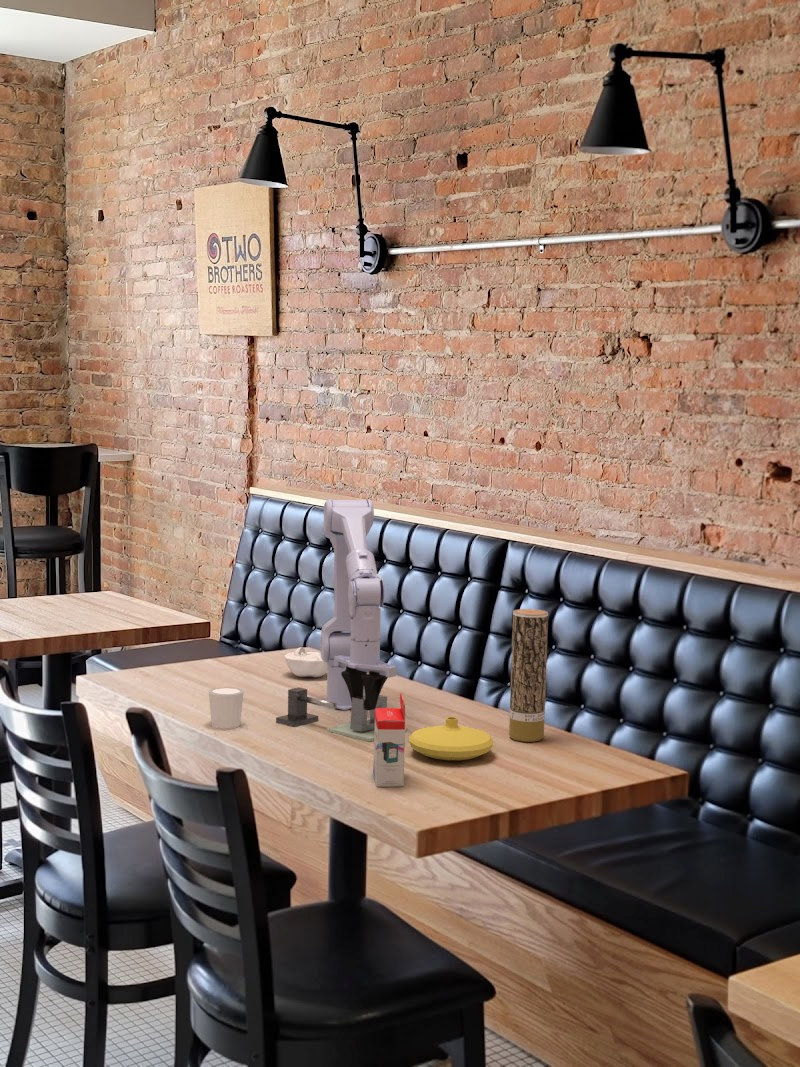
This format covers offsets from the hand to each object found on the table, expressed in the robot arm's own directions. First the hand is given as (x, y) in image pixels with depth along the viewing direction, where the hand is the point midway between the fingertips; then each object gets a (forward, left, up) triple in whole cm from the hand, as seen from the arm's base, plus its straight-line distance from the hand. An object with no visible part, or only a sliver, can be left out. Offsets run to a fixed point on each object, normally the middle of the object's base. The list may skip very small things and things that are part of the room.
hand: (363, 707), depth 261 cm
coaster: (-2, -1, -5) cm, 5 cm away
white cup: (+15, -24, -5) cm, 28 cm away
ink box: (+20, +23, -5) cm, 31 cm away
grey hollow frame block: (-1, 0, -5) cm, 5 cm away
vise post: (+3, -12, -5) cm, 13 cm away
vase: (0, +21, -6) cm, 22 cm away
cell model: (-28, -43, -5) cm, 51 cm away
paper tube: (-20, +25, -5) cm, 32 cm away
